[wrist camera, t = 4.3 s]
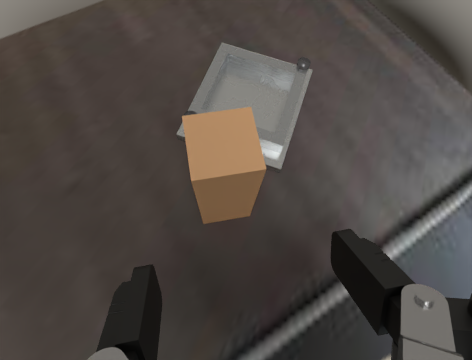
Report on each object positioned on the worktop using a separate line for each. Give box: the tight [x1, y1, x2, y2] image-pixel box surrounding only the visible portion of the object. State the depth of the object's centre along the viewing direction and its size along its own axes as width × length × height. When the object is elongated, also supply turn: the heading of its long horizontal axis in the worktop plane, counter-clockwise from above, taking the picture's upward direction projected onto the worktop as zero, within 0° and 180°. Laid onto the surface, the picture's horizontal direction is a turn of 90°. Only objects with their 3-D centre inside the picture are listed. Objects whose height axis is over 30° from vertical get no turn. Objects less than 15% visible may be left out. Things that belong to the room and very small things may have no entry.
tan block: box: [182, 107, 266, 224], centre depth 20 cm, size 4×4×10 cm
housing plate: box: [176, 43, 312, 173], centre depth 27 cm, size 12×10×3 cm
